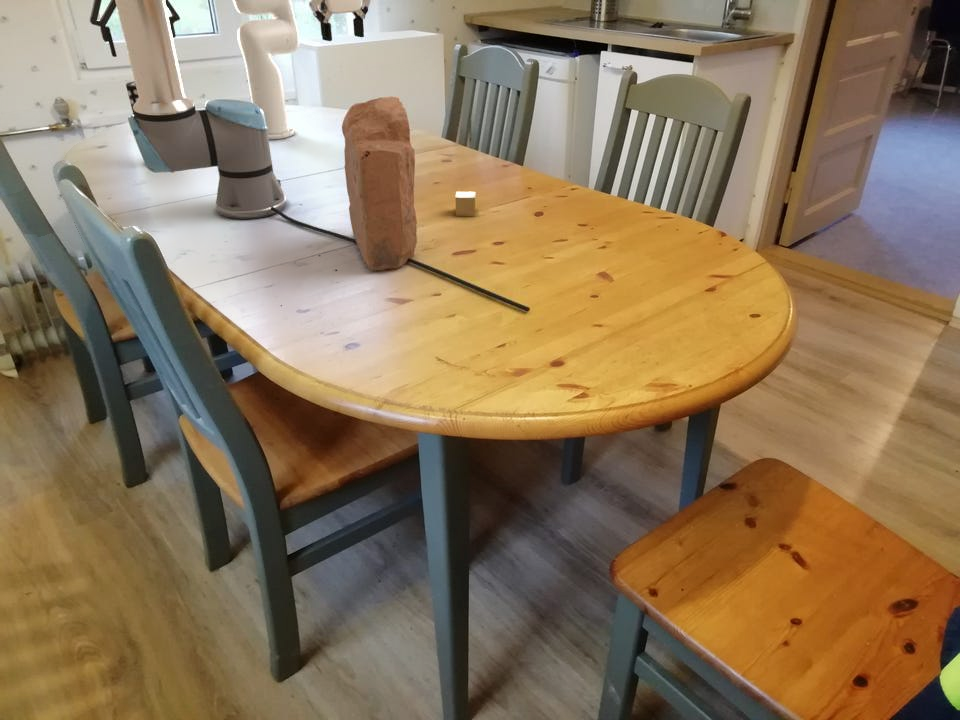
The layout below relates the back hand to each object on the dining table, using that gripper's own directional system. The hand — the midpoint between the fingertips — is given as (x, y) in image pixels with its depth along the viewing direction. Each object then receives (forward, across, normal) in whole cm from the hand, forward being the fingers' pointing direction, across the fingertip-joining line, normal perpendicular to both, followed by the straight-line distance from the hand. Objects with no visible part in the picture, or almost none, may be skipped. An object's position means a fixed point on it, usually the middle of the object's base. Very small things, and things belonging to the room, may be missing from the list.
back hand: (343, 38), depth 171 cm
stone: (+31, +31, +51) cm, 67 cm away
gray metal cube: (+31, +5, +48) cm, 57 cm away
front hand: (+5, +35, -37) cm, 51 cm away
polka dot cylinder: (+21, +37, -36) cm, 56 cm away
